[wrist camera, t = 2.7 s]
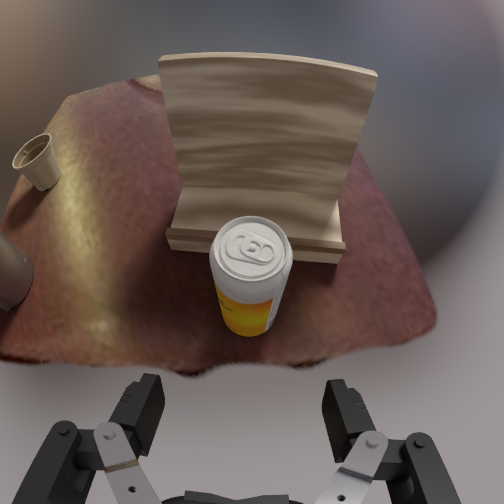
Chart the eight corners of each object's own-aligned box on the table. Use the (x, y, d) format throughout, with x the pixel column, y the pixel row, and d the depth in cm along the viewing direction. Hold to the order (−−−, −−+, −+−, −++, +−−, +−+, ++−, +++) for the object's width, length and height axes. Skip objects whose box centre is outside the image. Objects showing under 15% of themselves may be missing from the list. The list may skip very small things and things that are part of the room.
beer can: (235, 282, 35) (229, 202, 22) (281, 299, 34) (305, 227, 21) (214, 326, 32) (192, 267, 19) (263, 345, 31) (278, 300, 18)
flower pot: (25, 200, 42) (4, 171, 34) (43, 166, 46) (27, 138, 39) (55, 196, 42) (35, 164, 34) (74, 161, 46) (59, 129, 39)
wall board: (337, 263, 36) (408, 125, 17) (171, 249, 37) (118, 103, 18) (332, 201, 41) (374, 71, 22) (188, 190, 42) (162, 55, 23)
